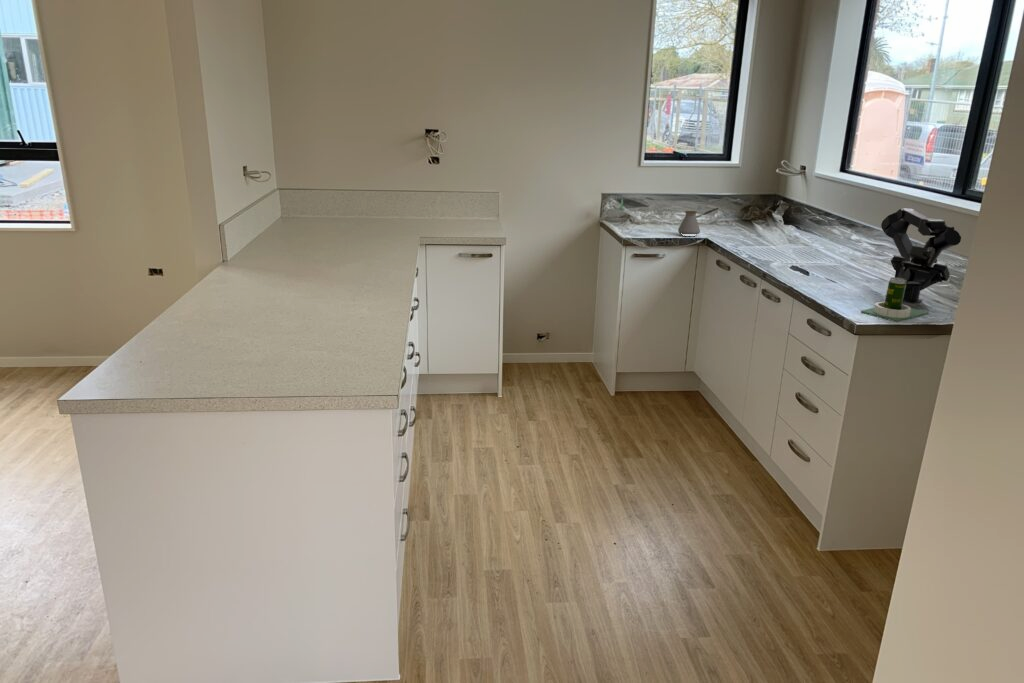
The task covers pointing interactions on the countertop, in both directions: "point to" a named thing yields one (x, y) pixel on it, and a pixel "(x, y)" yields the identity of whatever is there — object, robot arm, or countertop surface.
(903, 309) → the cup
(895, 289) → the beer can
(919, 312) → the putting mat
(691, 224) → the coffee pot
